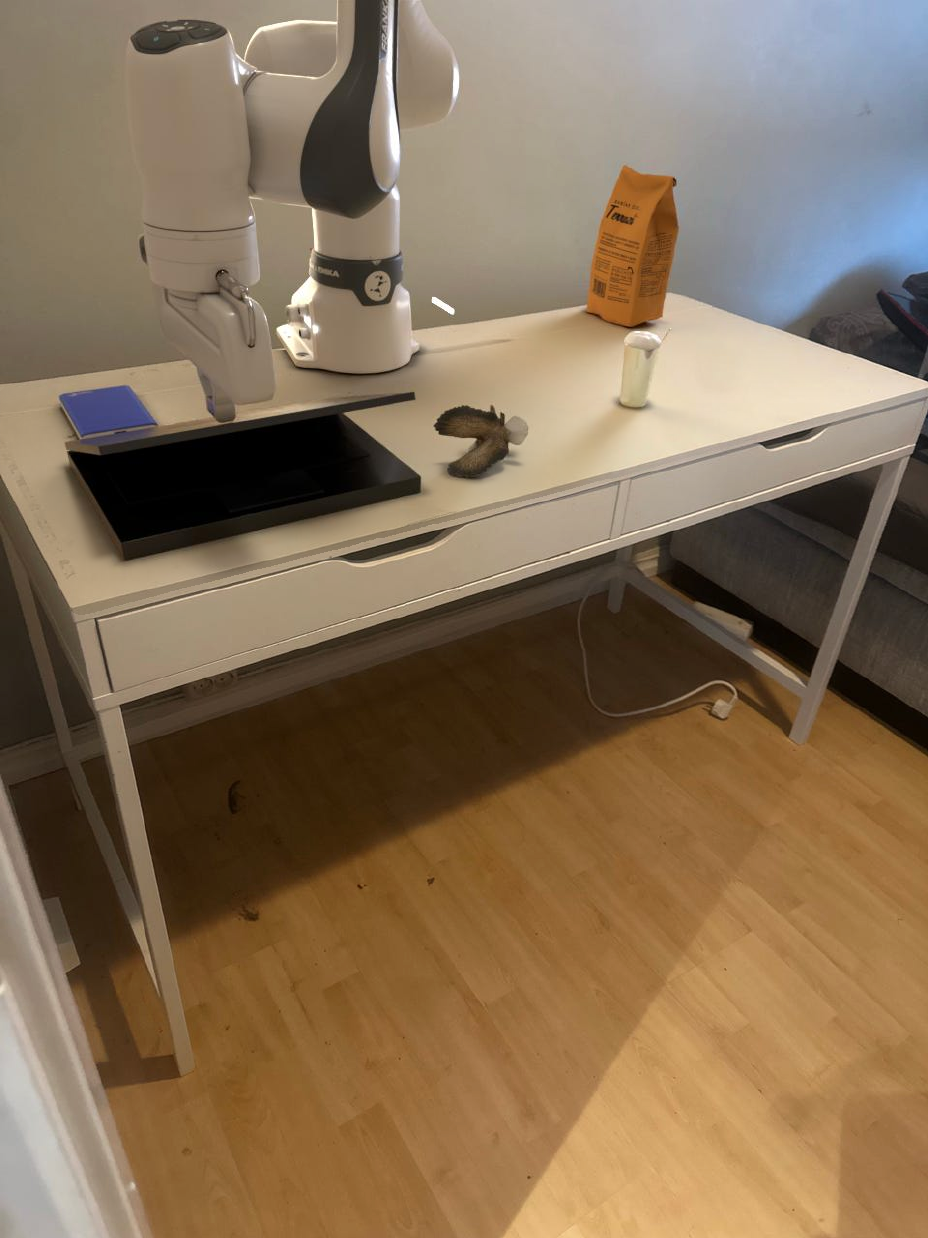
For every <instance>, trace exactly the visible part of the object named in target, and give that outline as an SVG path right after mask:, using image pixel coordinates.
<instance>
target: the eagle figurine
mask: <svg viewBox="0 0 928 1238" xmlns="http://www.w3.org/2000/svg"><path fill="white" fill-rule="evenodd" d="M505 420H506V415H505V412H502V411H500V412H499V416H498V414H497V413H496V408H495V406H494V405H493V404H491V405H490V406H489V411H486V410H482V409H481V408H475V407H471V406H470V405H467V404H466V405H462V404H461V406H460V405H458V406H457V407H456V406H454V407H453V408H449V409H447V410H444V411H443V413H441V414H440V415H439V417H438V418H436V422H435V423H434V424H433V428H434V431H436V432H437V434H438V435H439V436H444V437H452V438H453V437H454V438H457V439H476V440H475V441H473V443H472V444H471V445H470V446H469V447H468V448H467V452H466V453H465V454H464V455H462V456H460V457H459V458H458V459H457V458H456V459H455V460H454V461H452V462H450V463H448V464H447V471H448V475H451V476H453V477H456V476H457V477H459V478H461V477H465V478H469V477H471V478H474V477H477V476H480V475H483V474H484V473H486V472H487V471H488V469H490V468H492V467H493V465H495V464H497V463H498V462H501V461H504V459H505V458H506V457H507V455H509V453H510V449H509V445H510V444H512V445H515V446H520V445H522V444H523V443H524V442H525V440H526V438H527V436H528V435H529V428H530V427H529V425H528V423H527V421H526V420H524V419H523V418H522V417H520V416H517V415H513V416H511V417H510V418H509V419H508V421H507V422H506V421H505ZM509 443H510V444H509Z"/></svg>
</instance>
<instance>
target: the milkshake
mask: <svg viewBox="0 0 928 1238" xmlns="http://www.w3.org/2000/svg"><path fill="white" fill-rule="evenodd" d="M671 330H672V328H669V330H668V331H667V333H666V334H665V336H664V337H663V339H662V340H661V339H660V338H659V336H658V335H656V334H654V333H652V332H649V331H647V330H645V331H644V330H643V331H641V330H640V331H639V330H634V331H631V332H629V333H628V334H627V335H626V336H625V338H624V344H623V360H622V372H621V385H620V395H619V402H620V403H621V405H623V406H625V407H628V408H634V409H637V408H643V407H644V406H645V405H646V404H647V401H648V397H649V393H650V392H649V391H650V388H651V385H652V380H653V376H654V372H655V368H656V364H657V361H658V357H659V354H660V350H661V347H662V344H663V342H664V340H665V339H666V338H667V336H668V334H669V333H670V331H671Z"/></svg>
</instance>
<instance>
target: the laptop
mask: <svg viewBox="0 0 928 1238" xmlns="http://www.w3.org/2000/svg"><path fill="white" fill-rule="evenodd" d="M66 453H67V454H66V455H67V457H68V463H69V467H70V469H71V471H72V472H73V474H74V476H75V478H76V479H77V481H78V483H79V484H80V487H81V488H82V490H83V492H84V493H85V495H86V497H87V498H88V500H89V502H90V503H91V505H92V507H93V509H94V511H95V512H96V514H97V516H98V517H99V519H100V521H101V523H102V525H103V526H104V528H105V530H106V531H107V534H108V535H109V537H110V538H111V540H112V542H113V544H114V546H115V547H116V549H117V551H118V552H119V554H120V556H121V558H122V559H123V561H129V560H130V561H131V560H133V559H139V558H142V557H146V556H151V555H155V554H159V553H164V552H167V551H172V550H177V549H181V548H185V547H189V546H194V545H199V544H203V543H207V542H212V541H215V540H220V539H225V538H228V537H233V536H238V535H241V534H246V533H249V532H253V531H259V530H262V529H268V528H272V527H276V526H280V525H284V524H288V523H293V522H297V521H302V520H305V519H310V518H314V517H319V516H324V515H328V514H332V513H336V512H340V511H345V510H349V509H353V508H357V507H358V508H359V507H362V506H366V505H370V504H375V503H379V502H383V501H389V500H392V499H396V498H401V497H405V496H409V495H410V496H411V495H414V494H417V493H421V489H422V475H420V474H418V473H417V472H416V471H415V470H414V469H412V468H411V467H410V466H409V465H408V464H406V463H405V462H404V461H403V460H401V459H400V458H399V457H398V456H397V455H395V454H394V453H393V452H392V451H390V450H389V449H388V448H386V446H384V445H383V444H382V443H381V442H379V441H378V440H377V439H376V438H374V437H373V436H372V435H370V433H368V432H367V431H366V430H365V429H363V428H362V427H361V426H359V425H358V424H357V423H356V422H355V421H354V420H352V419H351V418H349V416H348V415H346V414H345V413H340V414H334V415H329V416H323V417H317V418H312V419H306V420H300V421H295V422H289V423H283V424H278V425H272V426H266V427H261V428H255V429H249V430H244V431H238V432H233V433H227V434H221V435H216V436H210V437H204V438H199V439H193V440H187V441H182V442H176V443H170V444H165V445H159V446H153V447H148V448H142V449H137V450H131V451H125V452H118V453H112V454H107V455H95V454H89V453H83V452H77V451H71V450H66Z"/></svg>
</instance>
